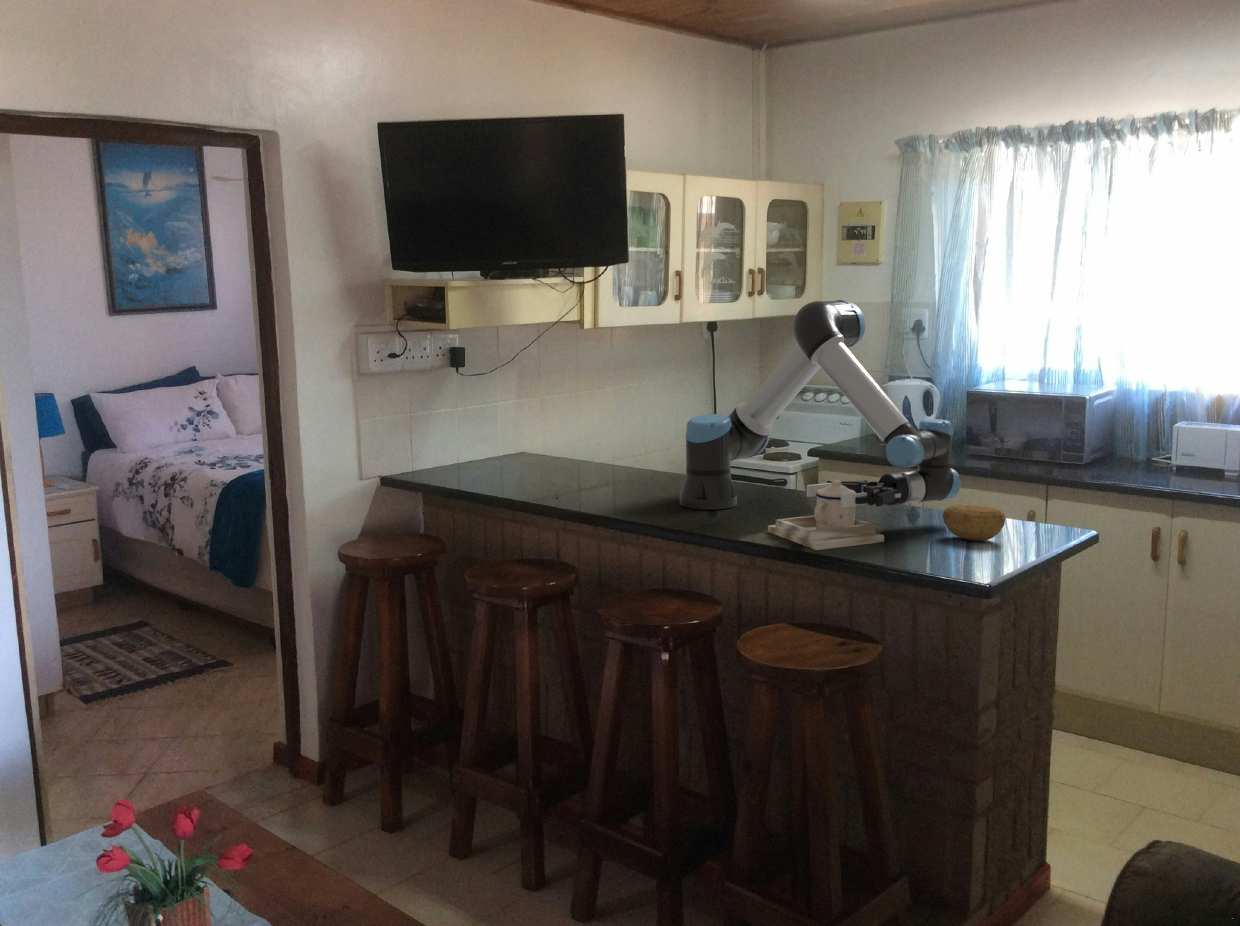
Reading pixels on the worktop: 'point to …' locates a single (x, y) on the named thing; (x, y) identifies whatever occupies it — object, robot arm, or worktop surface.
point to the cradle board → (825, 533)
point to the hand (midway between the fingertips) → (824, 496)
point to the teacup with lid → (833, 507)
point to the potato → (974, 521)
